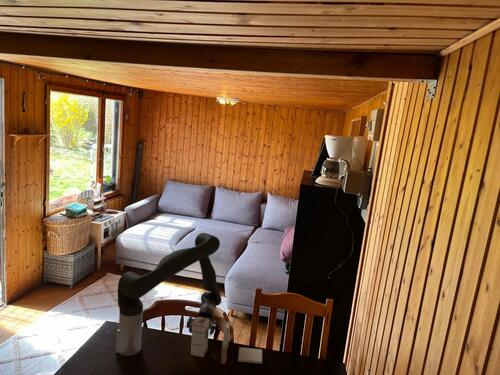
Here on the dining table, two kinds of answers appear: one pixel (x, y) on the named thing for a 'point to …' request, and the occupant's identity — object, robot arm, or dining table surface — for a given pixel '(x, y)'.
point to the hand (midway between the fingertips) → (200, 332)
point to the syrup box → (200, 336)
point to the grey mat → (250, 355)
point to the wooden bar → (226, 337)
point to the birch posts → (224, 353)
